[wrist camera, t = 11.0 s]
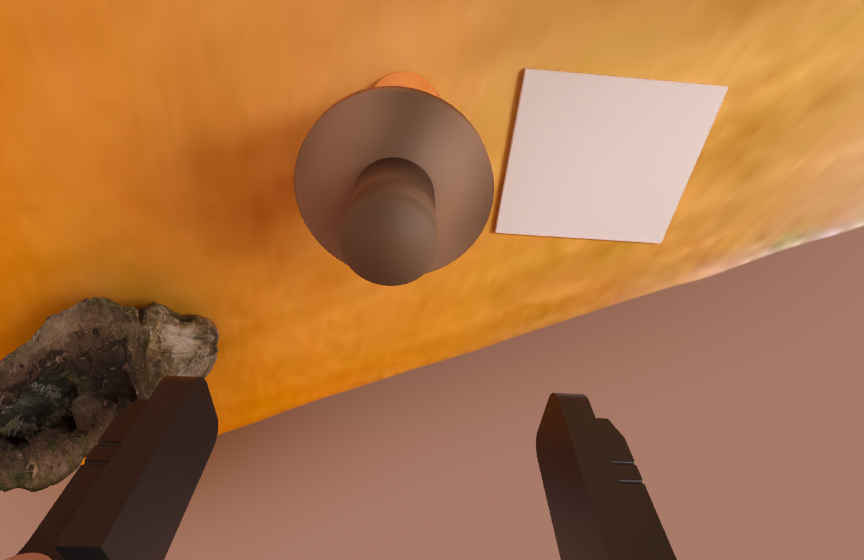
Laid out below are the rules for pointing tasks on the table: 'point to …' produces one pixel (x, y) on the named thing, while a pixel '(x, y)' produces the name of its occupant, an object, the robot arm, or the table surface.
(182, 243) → the table surface
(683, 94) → the white mat
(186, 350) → the hollow geode rock
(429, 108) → the walnut lid
